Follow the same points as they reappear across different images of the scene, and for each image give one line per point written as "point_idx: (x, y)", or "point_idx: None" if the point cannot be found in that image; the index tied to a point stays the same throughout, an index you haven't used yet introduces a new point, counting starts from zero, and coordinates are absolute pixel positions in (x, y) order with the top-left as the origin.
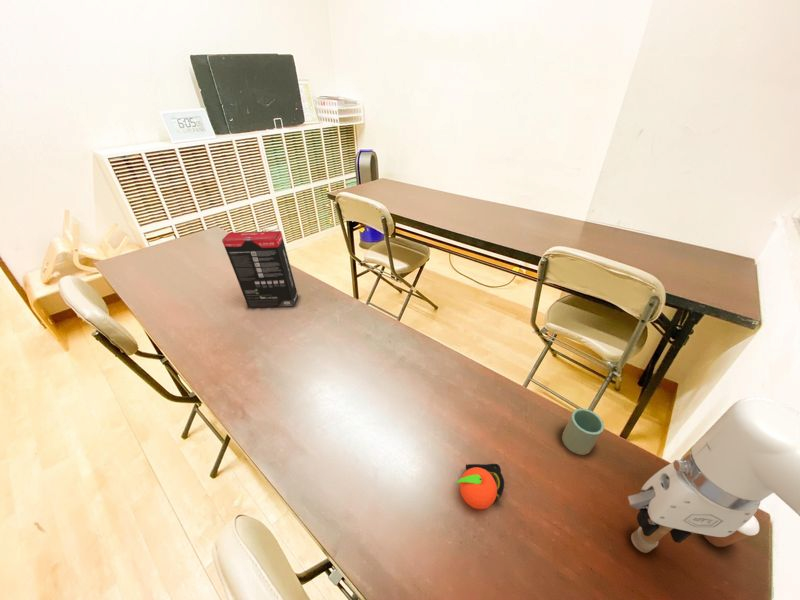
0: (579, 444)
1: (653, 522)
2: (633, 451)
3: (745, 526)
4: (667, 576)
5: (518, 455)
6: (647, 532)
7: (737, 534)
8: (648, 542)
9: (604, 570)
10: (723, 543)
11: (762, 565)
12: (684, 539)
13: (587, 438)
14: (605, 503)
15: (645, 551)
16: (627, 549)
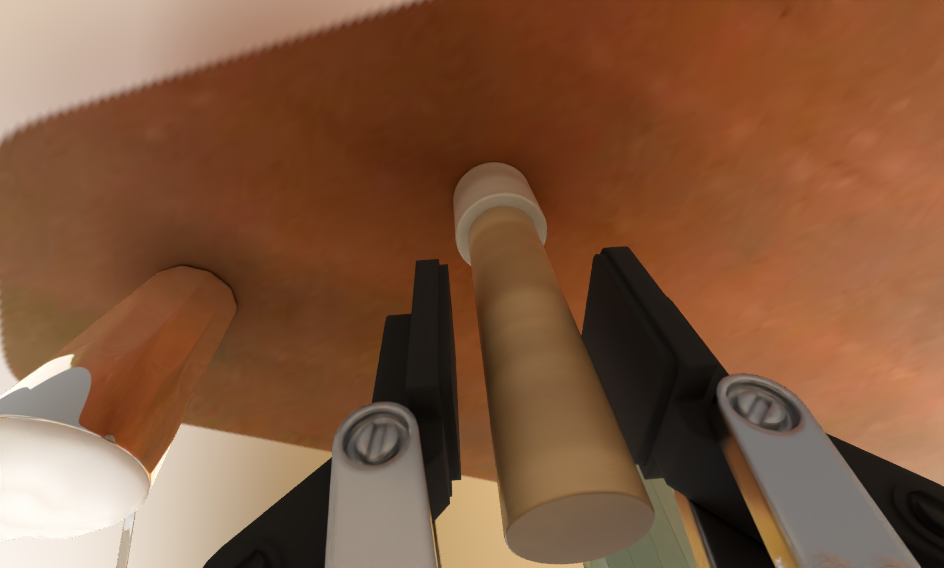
0: (652, 480)
1: (751, 405)
2: None
3: (2, 474)
4: (412, 83)
5: (840, 374)
6: (643, 274)
7: (69, 387)
8: (513, 209)
9: (718, 22)
10: (155, 292)
11: (10, 244)
12: (412, 304)
13: (663, 537)
14: (583, 304)
15: (492, 167)
16: (561, 155)
